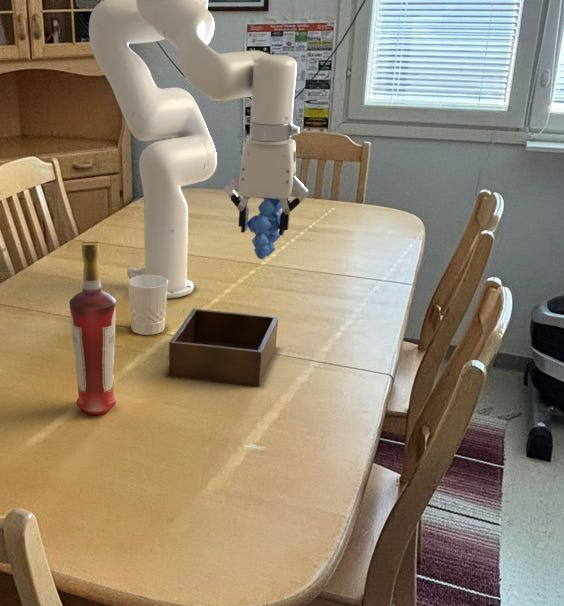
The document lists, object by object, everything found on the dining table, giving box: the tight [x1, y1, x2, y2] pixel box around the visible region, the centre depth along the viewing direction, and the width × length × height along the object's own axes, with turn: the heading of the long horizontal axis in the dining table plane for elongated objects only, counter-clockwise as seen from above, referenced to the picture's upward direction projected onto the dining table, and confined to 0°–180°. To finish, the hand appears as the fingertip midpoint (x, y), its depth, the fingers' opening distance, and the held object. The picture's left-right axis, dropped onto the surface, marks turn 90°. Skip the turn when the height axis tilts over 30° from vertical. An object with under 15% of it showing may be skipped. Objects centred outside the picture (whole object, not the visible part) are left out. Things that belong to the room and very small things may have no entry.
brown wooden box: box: [168, 308, 279, 387], centre depth 159 cm, size 17×18×6 cm
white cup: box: [127, 275, 168, 336], centre depth 172 cm, size 8×8×10 cm
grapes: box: [247, 199, 282, 260], centre depth 165 cm, size 12×7×12 cm, turn 154°
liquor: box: [68, 239, 118, 416], centre depth 137 cm, size 7×7×28 cm
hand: (263, 231), depth 165 cm, fingers closed on grapes, 6 cm apart
